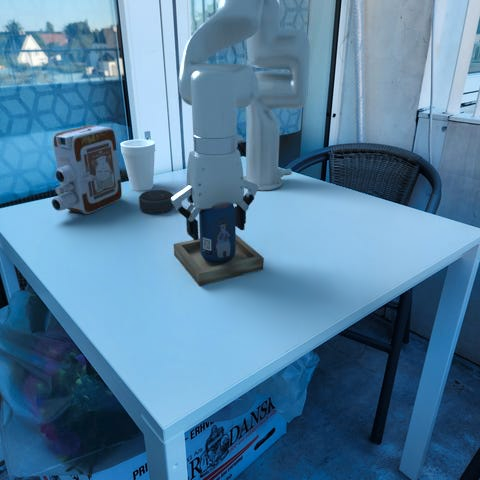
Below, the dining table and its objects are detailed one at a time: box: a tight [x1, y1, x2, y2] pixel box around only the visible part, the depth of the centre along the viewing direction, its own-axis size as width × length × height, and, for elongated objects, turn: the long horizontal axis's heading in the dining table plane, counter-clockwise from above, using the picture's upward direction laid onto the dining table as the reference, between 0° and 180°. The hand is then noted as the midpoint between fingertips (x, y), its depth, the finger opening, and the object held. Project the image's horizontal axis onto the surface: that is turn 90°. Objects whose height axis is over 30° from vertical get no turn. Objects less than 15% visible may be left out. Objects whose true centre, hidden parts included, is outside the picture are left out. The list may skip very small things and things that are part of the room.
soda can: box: [198, 203, 237, 265], centre depth 82 cm, size 7×7×12 cm
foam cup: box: [120, 138, 156, 192], centre depth 122 cm, size 10×9×13 cm
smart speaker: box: [138, 189, 175, 215], centre depth 110 cm, size 9×9×4 cm
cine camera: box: [51, 124, 123, 215], centre depth 106 cm, size 9×19×20 cm, turn 152°
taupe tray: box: [173, 234, 265, 287], centre depth 84 cm, size 13×13×2 cm
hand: (217, 232), depth 82 cm, fingers open, 9 cm apart
